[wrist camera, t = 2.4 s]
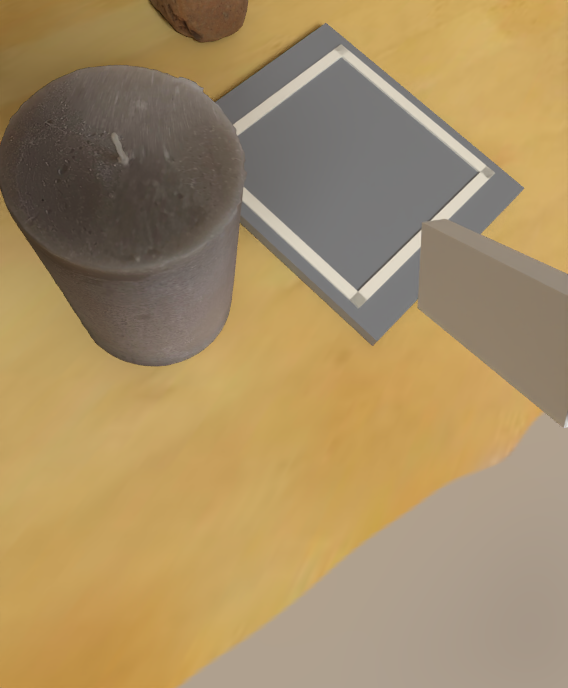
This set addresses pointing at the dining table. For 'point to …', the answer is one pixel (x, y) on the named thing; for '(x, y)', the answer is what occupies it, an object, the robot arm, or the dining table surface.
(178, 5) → the block
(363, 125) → the slate tile
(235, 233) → the pillar candle
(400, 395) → the dining table surface
